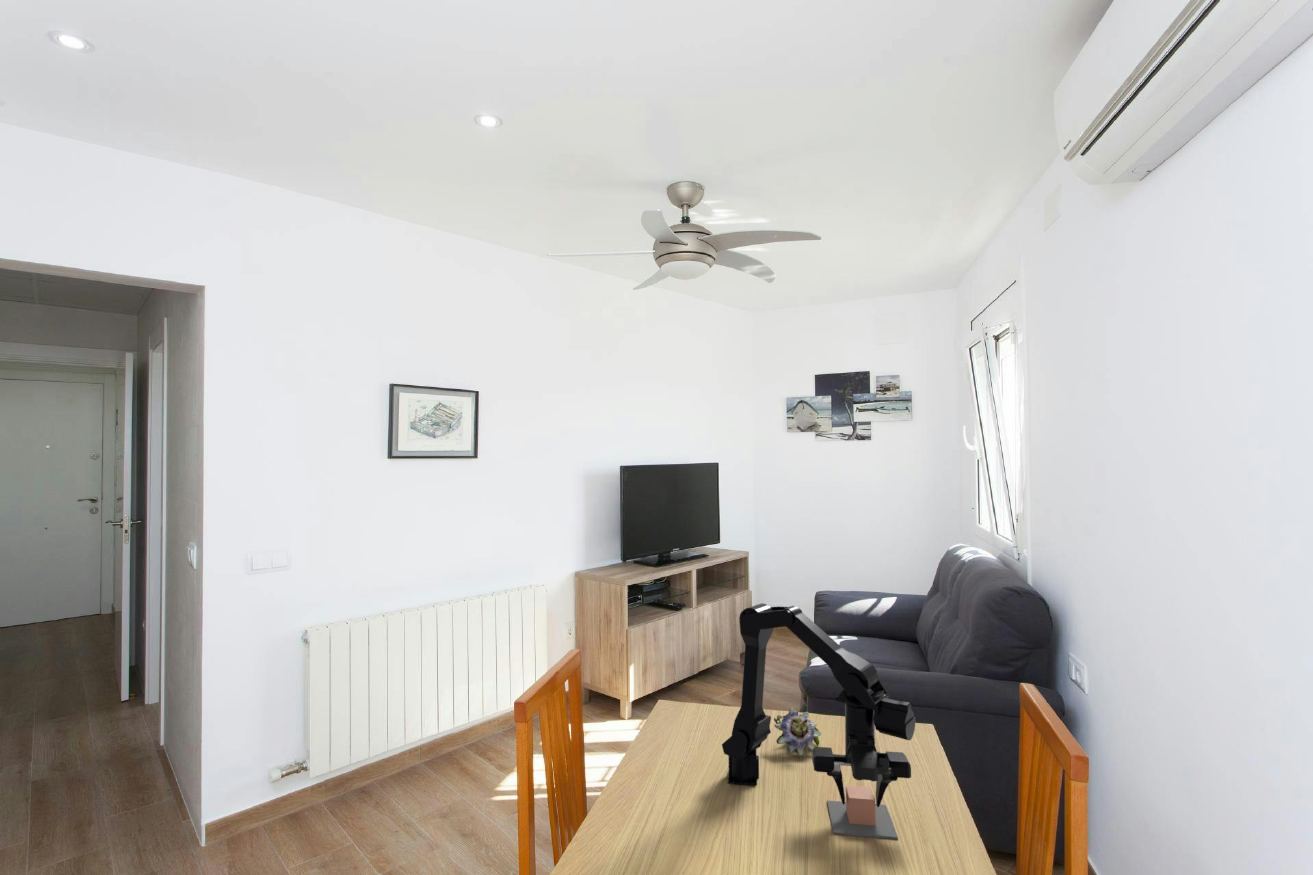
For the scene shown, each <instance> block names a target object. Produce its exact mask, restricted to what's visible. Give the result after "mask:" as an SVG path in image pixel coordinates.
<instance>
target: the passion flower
mask: <svg viewBox="0 0 1313 875" xmlns="http://www.w3.org/2000/svg"><path fill="white" fill-rule="evenodd" d="M809 715H810V713H809V712H808V711H805V712H803V713H801V714H799V711H796V709H795V707H793V706H790V707H789V710H788V712H787V713H786V715H783V716H782V715H780V714H778V715H776V717H774V716H773V721H774V723H775V724H774V727H775V728H776V729H777V730H779V731H781V732H782V733H781V735H780V736H778V737H777V739H776V744H777V745H782V744H785V743H786V745H787V750H788V752H789V753H790V754H791V753H793V752H795V753H796V754H797V756H798V757H802V756H803V754H804V751H805V750H804V749H805V748H808V749H809V750H811V751H812V749H813V748H814V747H815V746H816V747H819V745H820V740H819V738H820V736H821V735H822V732H820V729H819V728H817V726H818V723H817V722H815V721H811V720H810V719H809ZM814 743H815V745H814Z"/></svg>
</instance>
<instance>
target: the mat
mask: <svg viewBox="0 0 1313 875" xmlns="http://www.w3.org/2000/svg"><path fill="white" fill-rule="evenodd" d="M826 804H827V809H828V814H829V817H830V824H831V829H832V832H833V835H842V836H854V837H865V838H866V837H867V838H875V839H876V838H877V839H887V840H889V839H890V840H891V839H892V840H899V836H898V834H897V831H896V828H895V825H894V823H893V821H892V818H891V815H890V813H889V810H888V807H887V805H886V804H881V803H880V806H879V807H877V805H876V803H875V818H876V826H875V825H862V824H850V823H849V820H848V816H847V812H846V801H845V804H843V803H842V800H839V801H838V800H829V799H828V800H826Z"/></svg>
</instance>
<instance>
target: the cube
mask: <svg viewBox="0 0 1313 875" xmlns="http://www.w3.org/2000/svg"><path fill="white" fill-rule="evenodd" d="M845 802H846V812H847V816H848V820H849V823H850V824H862V825H875V826H876V818H875V804H876V797H875V795H874V792H873V789H872V787H869V786H855V785H845Z"/></svg>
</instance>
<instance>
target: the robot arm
mask: <svg viewBox="0 0 1313 875" xmlns="http://www.w3.org/2000/svg"><path fill="white" fill-rule="evenodd" d="M738 621H739V622H738V623H739V632H740V636H741V638H742V641H743V643H744V657H743V658H744V659H743V672H742V687H741V691H742V692H741V705H740V708H739V710H738V712H737V714H736V716H735V719H734V722H733V727H732V731H731V736H730V737H729V738H728V739H726V740H725V741H724V742H723V743H722V744H721V747H722V751H723V755H725V756H728V772H727V783H729V784H734V785H739V784H740V785H746V786H747V785H749V786H757V785H758V780H759V779H760V756H759V755H757V749H758V748H761V746H762V743H763V742H765V740H766V739H767V738H768V736H769V735H770V734H771V733H772V731H771V727H770V726H771V720H772V716H771V715H766V713H765V711H764V708H763V703H764V702H763V701H764V686H765V671H766V655H767V647H768V646H767V645H768V643H769V642H770V638H771V636H772V634H773V632H774V629H775V628H787V629H788V630H789V631H790V632H791V633H792V634H793V635H794V636H796V637H797V639H799V640H800V641H801V642H802V643H803V644H804V645H805V646H807V647H808V649H810V651H812V652H813V653H814V654H815V655H816V656H817V657H818V658H819V659H821V661H822V662H824V663H825V664H826V665H827V667H829V669H830V671H831V674H832V675H833V677H834V679H835V681H837V684H839V685H840V687H841V688H842V690H841V692H840V693H839V694H838V695H836V696H835V697H834V701H835V702H840V703H843V704H844V713H845V714H844V719H845V720H844V721H845V722H844V723H845V724H844V725H845V726H844V727H845V728H844V729H845V730H844V731H845V732H844V734H845V736H844V737H845V738H844V739H845V740H844V741H845V742H844V743H845V746H844V748H845V750H844V751H845V754H837V753H836V754H835V753H833V750H832V747H828V746H827V747H825V746H823V747H822V746H818V747H817V746H814V748H813V749H812V750H811V761H812V765H813V771H815V772H817V773H826V775H827V776H828V777H832V778H833V780H834V782H835V784H836V785H835V786H836V787H837V789H838V794H839V796H840V801H841V802H842V803H843V804H845V802H846V794H845V789H844V781H843V774H842V773H843V772H842V770H841V766H846V767H847V766H848V767H851V772H852V774H851V775H852V777H853V779H854V780H856V781H862V780H863V781H871V782H876V784H875V804H876V805H877V807H879V806H880V804H881V803H882V801H883V798H884V794H885V793H886V790H887V788H888V787H889V784H891V783H892V782H896V781H898V779H899V778H900V779H910V778H912V767H911V765H912V764H910V761H909V759H908V757H907V755H906V754H905V753H904V752H903V751H902V752H901V751H900V752H899V751H886V750H885V752H880V751H878V750H877V747H876V740H875V738H876V737H875V736H876V734H875V733H876V732H875V730H876V731H878V732H879V733H880V734H883V735H886V736H891V737H894V738H897V739H902V740H906V741H911V740H912V739H913V737H914V733H915V729H916V728H915V727H916V717H915V714H914V710H913V709H912V703H911V702H908V701H903V700H901V701H900V700H895V699H890V698H889V697H890V694H889V693H888V691H887V689H886V688H885V687H884V684H882V682H881V680H880V679H879V676H878V671H877V669H876V668H875V666H874V665H873V664H872V663H870V662H869V661H868V660H866V659H864V658H863V657H861V656H859V655H857V654H855V653H853V652H850V651H848V650H846V649H845V648H843V647H842V646H841V645H840V644H839V643H838V642H836V641H835V640H834V639H833V638H831V636H830V635H828V634H827V633H826V632H825V631H824V630H823V629H822V628H820V627H819V626H818V625H817V624H816V623H815V622H814V621H813V620H811V618H809V617H808V616H807V615H806V614H804V613H803V611H802V609H801V608H800V607H798V606H796V605H790V606H782V605H781V606H778V605H777V606H770V605H769V604H766V603H758V604H756V605H752V606H750V607H749V606H748V607H747V608H745V609H743V610H742V611H741V612H740V614H739V617H738ZM870 691H872V692H873V693H871V694H870Z"/></svg>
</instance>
